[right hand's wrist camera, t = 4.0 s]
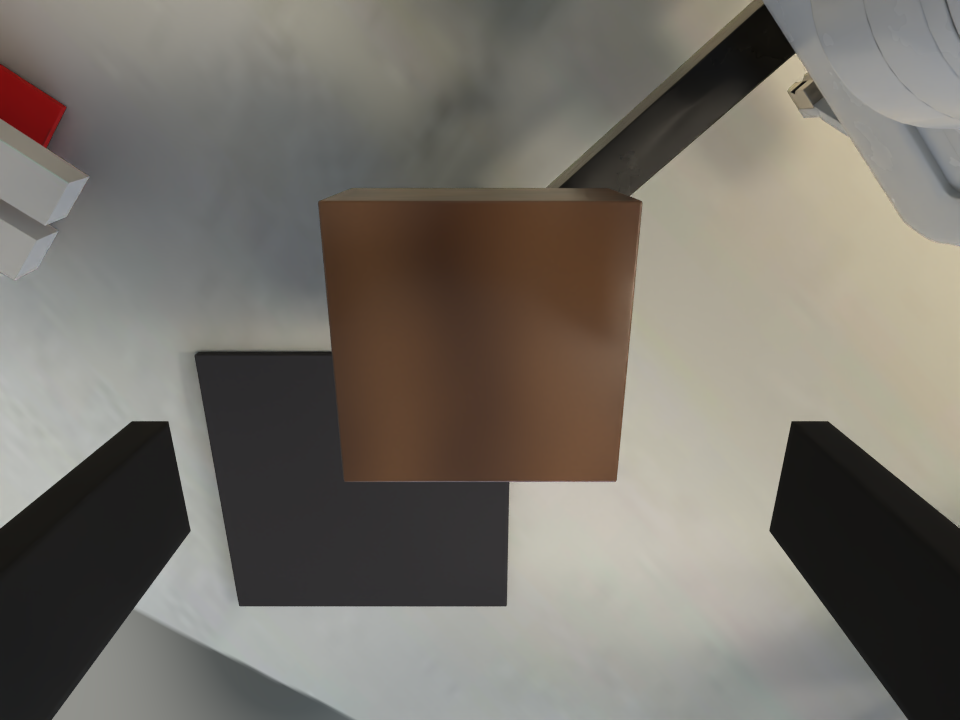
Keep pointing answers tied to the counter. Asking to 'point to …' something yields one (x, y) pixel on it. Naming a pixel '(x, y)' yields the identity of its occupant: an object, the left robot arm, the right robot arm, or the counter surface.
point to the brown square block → (480, 331)
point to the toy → (30, 175)
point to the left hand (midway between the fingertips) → (765, 25)
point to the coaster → (336, 501)
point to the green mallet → (683, 104)
